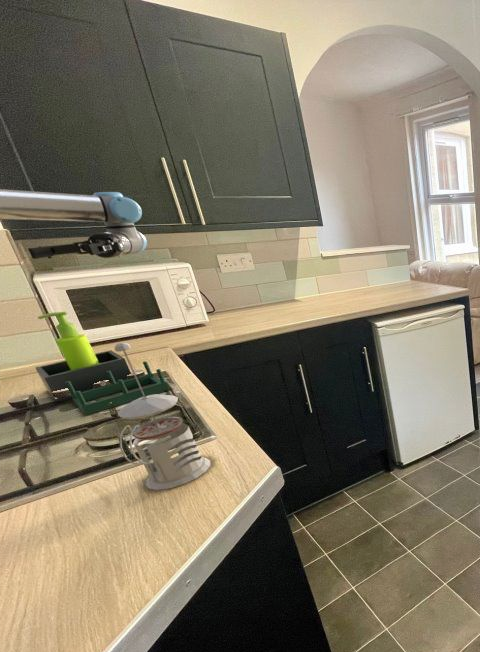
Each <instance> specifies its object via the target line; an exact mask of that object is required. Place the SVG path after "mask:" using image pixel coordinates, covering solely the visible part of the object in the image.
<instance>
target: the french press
mask: <svg viewBox="0 0 480 652" xmlns="http://www.w3.org/2000/svg"><path fill="white" fill-rule="evenodd" d="M131 349H132V347H131V345H130V343H128V342H125V341H124V342H118V343H116V344H115V346H114V352H115V353H117V352H123V355H124V356H125V358H126V362H127V364H128V366H129V368H130V369H131V370H130V371H132V372H131V373H132V375H133V377H134V378H136V381H137V383H138V385H139V386H138V387H139V388H140V389H141V392H142V394H143V396H144V397H141V398H139V399H136V400H134V401H132V402H129V403H126V405H124V406H123V407H122V408H121V409H120V410H119V411H118V413H117V416H119V418H121V419H123V420H139V419H144V418H147V417H152V418H153V421H149V422H146V423H144V424H142V425H140V424H136V425H134V426H133V428H131V426H130V425H125V426H124V427H123V429H122V430H121V432H120V435H119V449H120V452H121V454H122V455H123V458H125V459H126V461H128V462H129V463H131V464H133V465H138V466H139V465H143V466H144V468H145V471H146V472H147V474H148V477H147V479H146V481H145V485H144V486H145V487H146V488H147V489H149V490H154V491H161V490H168V489H172V488H176V487H179V486H183V485H185V484H187V483H189V482H191V481H193V480H196V479H198V478H199V477H200V476H202V475H203V474H205V473H206V472H207V471H208V469H209V468H210V467H211V460H209V459H208V458H206V457H203V456H201V452H200V450H199V447H198V446H197V445H196V441H195V439H194V435H193V433H192V431H191V429H190V426H189V425H188V424H186V423H184V418H182V417H181V416H169V417H164V418H160V419H159V418H158V419H156V417H155V415H157V414H160V413H164V412H165V411H167V410H169V409H171V408H173V407H174V406H175V405H177V403H178V400H179V398H178V397H177V396H175V395H172V394H171V395H170V394H160V393H158V394H155V395H149V396H145V394H144V392H143V390H142V388H143V387H142V386H140V383H139V381H138V379H137V377H138V376H137V375H136V372H135V370H134V368H133V366H132V363H131V361H130V359H129V357H128V354H127V352H126V351H128V350H129V351H130V350H131ZM127 428H128V429H129V431H131V432H130V435H129V442H128V443H129V450H130V452H131V453H132V456H133V457H134V458H135V459H136V460H137V461H138V462H135V461H132V460H131V459H130V458H128V456H127V454H126V453H125V451H124V448H123V442H122V441H123V440H122V439H123V434H124V432H125V430H126V429H127ZM169 436H170V438H168V439H166V440H161V441H157V442H149V443H147V442H146V441H154V440H160V439H164V438H166V437H169ZM133 438H134V440H133V441H132V439H133ZM144 441H145V442H146V443H144V444H141V445H139V444H140V443H142V442H144ZM133 445H134V448H135V449H136V452H137V454H138V455H136V453H135V450H134V449H133ZM144 449H147V450H144ZM172 449H173V450H172ZM170 450H172V451H170ZM169 451H170V452H169ZM148 454H149V456H147V455H148ZM176 454H178V455H176ZM174 455H176V456H174ZM138 456H139V457H138ZM173 456H174V457H173ZM151 460H152V461H151ZM150 461H151V462H150Z"/></svg>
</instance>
